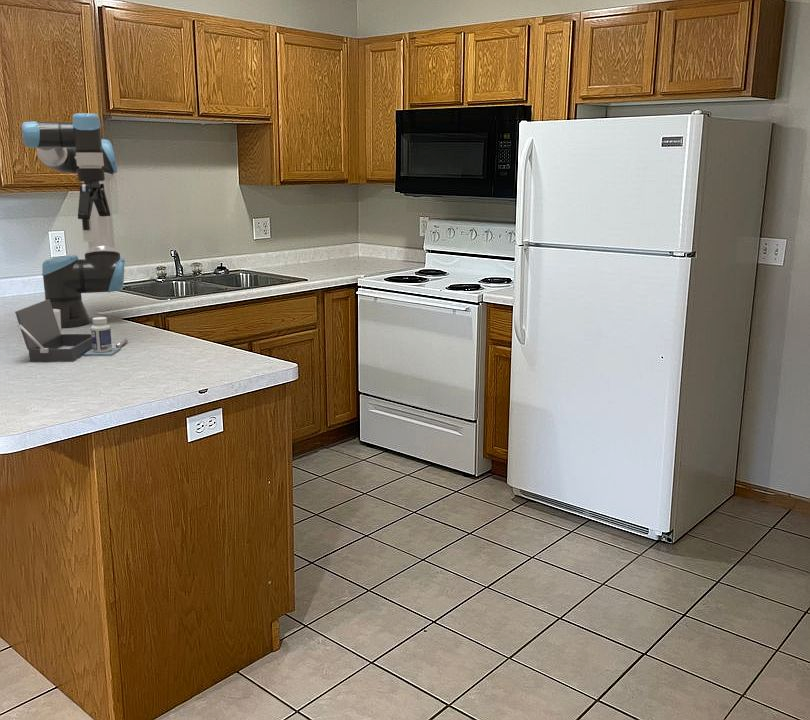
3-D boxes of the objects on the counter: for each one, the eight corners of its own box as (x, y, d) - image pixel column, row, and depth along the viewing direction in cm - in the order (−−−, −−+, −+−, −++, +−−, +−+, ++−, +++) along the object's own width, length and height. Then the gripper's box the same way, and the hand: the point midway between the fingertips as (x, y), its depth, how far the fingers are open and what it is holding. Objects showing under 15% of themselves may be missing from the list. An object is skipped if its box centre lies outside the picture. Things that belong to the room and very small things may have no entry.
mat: (93, 350, 243) (93, 348, 243) (120, 349, 243) (120, 347, 243) (83, 356, 235) (83, 354, 235) (111, 355, 235) (111, 353, 235)
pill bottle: (114, 348, 242) (111, 316, 240) (109, 352, 237) (106, 319, 235) (96, 348, 242) (93, 316, 240) (90, 352, 237) (87, 319, 234)
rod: (124, 342, 253) (124, 339, 253) (128, 342, 253) (127, 339, 253) (115, 348, 245) (115, 344, 245) (119, 348, 245) (119, 344, 245)
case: (52, 345, 250) (47, 299, 246) (100, 345, 250) (95, 298, 246) (19, 362, 228) (13, 311, 224) (71, 362, 228) (66, 311, 225)
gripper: (92, 167, 255) (98, 236, 260) (61, 167, 230) (68, 243, 235) (116, 167, 255) (122, 236, 260) (87, 167, 231) (94, 243, 235)
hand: (96, 239), depth 248 cm, fingers open, 13 cm apart
